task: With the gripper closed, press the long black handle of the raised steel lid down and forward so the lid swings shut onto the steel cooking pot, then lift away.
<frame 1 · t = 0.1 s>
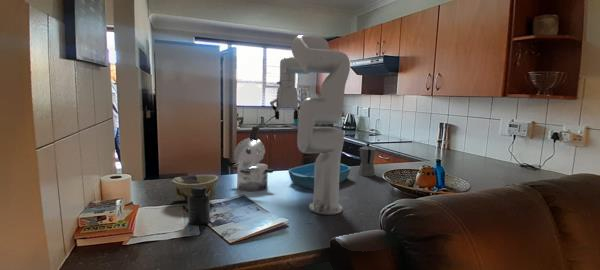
hand: (286, 119, 162), 31 cm above the counter, tool pointing down, fingers open, 9 cm apart
casserole dish: (320, 182, 167), on the counter
bowl: (195, 201, 130), on the counter
coffeepot: (366, 175, 183), on the counter
lid: (250, 146, 148), point 20 cm above the counter, hinge at 55.0°
supplement bottle: (199, 222, 109), on the counter
pot: (252, 186, 153), on the counter
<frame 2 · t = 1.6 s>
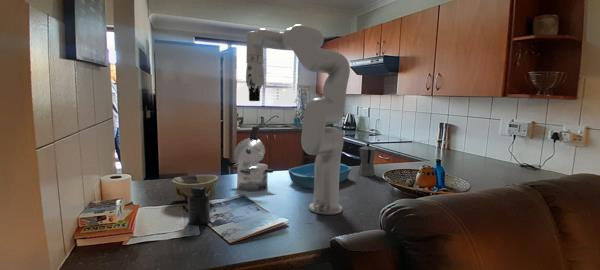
hand: (254, 100, 149), 40 cm above the counter, tool pointing down, fingers open, 3 cm apart
nothing on the counter moved.
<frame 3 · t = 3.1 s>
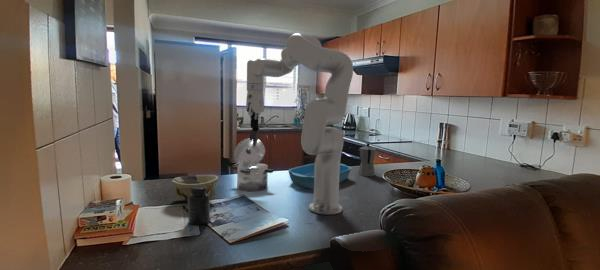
hand: (254, 127, 151), 28 cm above the counter, tool pointing down, fingers closed
lid: (250, 146, 148), point 20 cm above the counter, hinge at 54.9°, touching gripper
everything else where it was.
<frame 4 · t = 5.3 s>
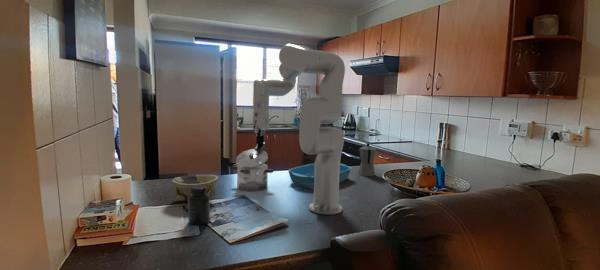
hand: (260, 143, 158), 19 cm above the counter, tool pointing down, fingers closed
lid: (254, 153, 152), point 15 cm above the counter, hinge at 23.1°, touching gripper
everything else where it was.
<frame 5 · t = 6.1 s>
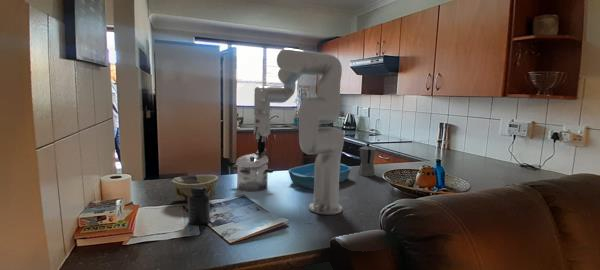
hand: (261, 149, 160), 16 cm above the counter, tool pointing down, fingers closed
lid: (254, 157, 153), point 14 cm above the counter, hinge at 12.8°, touching gripper
everything else where it was.
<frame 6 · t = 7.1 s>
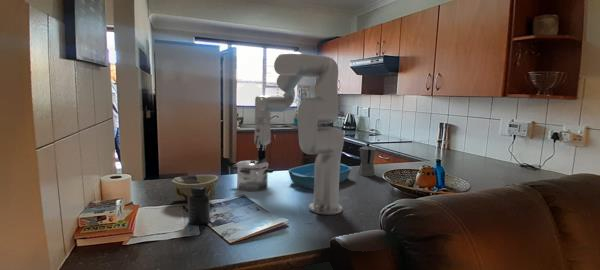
hand: (261, 158, 161), 12 cm above the counter, tool pointing down, fingers closed
lid: (255, 162, 154), point 11 cm above the counter, hinge at -0.3°, touching gripper
everything else where it was.
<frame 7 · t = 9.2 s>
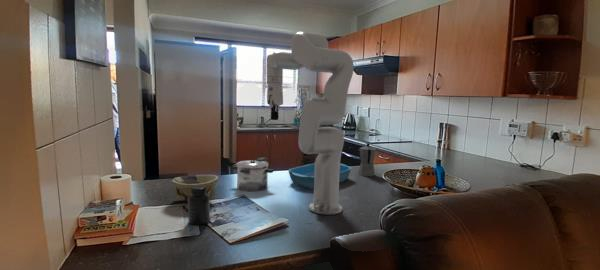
hand: (274, 119, 156), 31 cm above the counter, tool pointing down, fingers closed
lid: (255, 162, 154), point 11 cm above the counter, hinge at -0.3°
everything else where it was.
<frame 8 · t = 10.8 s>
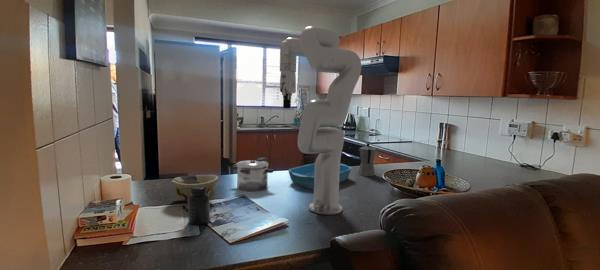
hand: (286, 108, 153), 37 cm above the counter, tool pointing down, fingers closed
nothing on the counter moved.
at the end: lid at +0° (first picture: +55°) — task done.
